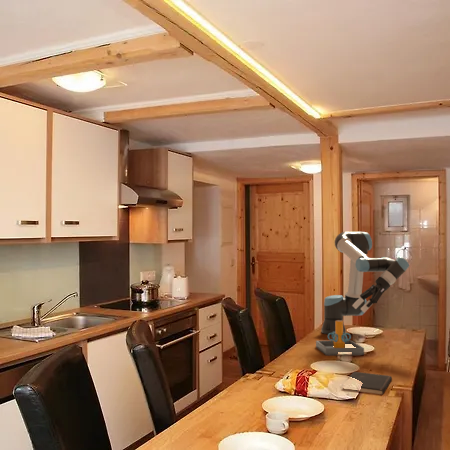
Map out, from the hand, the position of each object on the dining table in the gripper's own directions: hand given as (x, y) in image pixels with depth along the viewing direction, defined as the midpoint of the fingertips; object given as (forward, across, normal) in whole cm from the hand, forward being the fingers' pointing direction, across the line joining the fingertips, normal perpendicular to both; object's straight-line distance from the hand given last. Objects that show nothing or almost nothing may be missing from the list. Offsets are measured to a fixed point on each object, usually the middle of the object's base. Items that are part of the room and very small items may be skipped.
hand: (357, 309), depth 281 cm
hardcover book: (+28, -63, -4) cm, 69 cm away
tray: (+23, 0, -8) cm, 24 cm away
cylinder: (+22, 0, -8) cm, 24 cm away
